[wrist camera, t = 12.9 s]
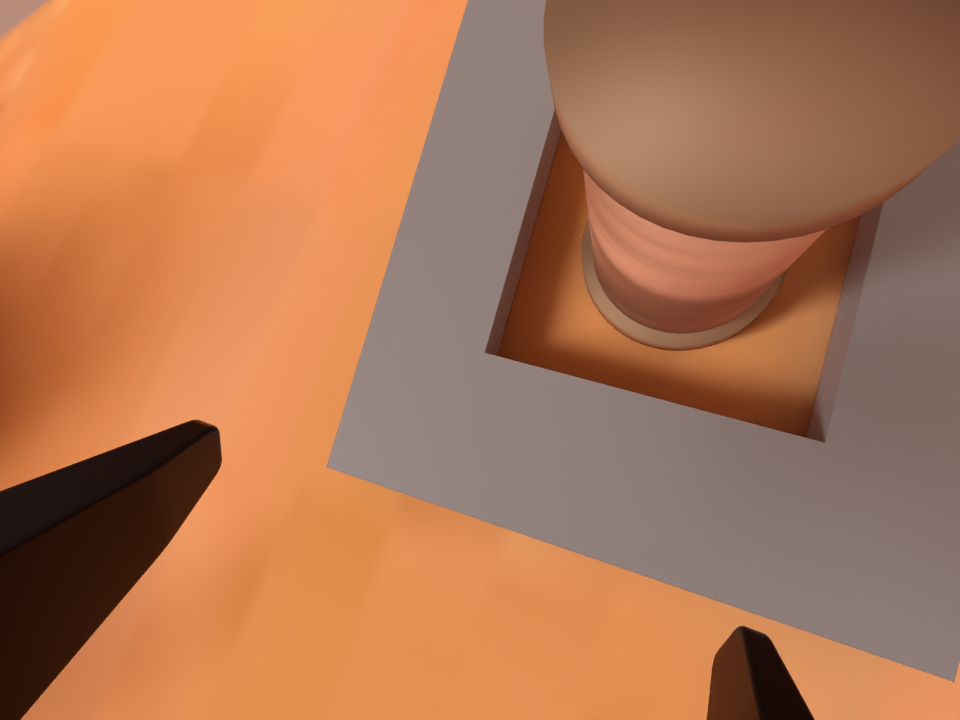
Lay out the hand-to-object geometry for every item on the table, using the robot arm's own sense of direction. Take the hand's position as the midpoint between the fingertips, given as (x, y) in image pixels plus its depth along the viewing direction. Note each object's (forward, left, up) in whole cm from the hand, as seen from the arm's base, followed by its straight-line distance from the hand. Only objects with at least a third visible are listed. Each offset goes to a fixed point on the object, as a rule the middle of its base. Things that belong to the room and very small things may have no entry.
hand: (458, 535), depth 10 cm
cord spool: (+2, -9, -12) cm, 15 cm away
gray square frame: (+2, -8, -12) cm, 15 cm away
